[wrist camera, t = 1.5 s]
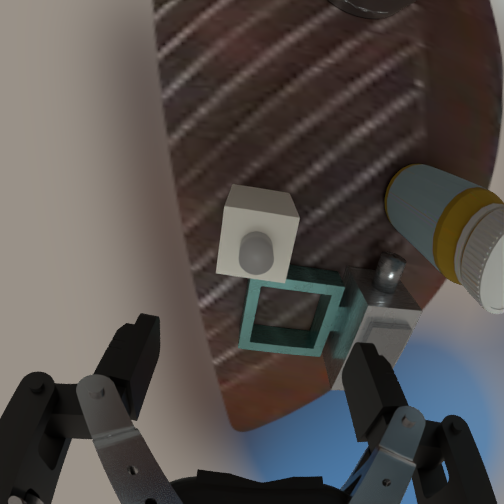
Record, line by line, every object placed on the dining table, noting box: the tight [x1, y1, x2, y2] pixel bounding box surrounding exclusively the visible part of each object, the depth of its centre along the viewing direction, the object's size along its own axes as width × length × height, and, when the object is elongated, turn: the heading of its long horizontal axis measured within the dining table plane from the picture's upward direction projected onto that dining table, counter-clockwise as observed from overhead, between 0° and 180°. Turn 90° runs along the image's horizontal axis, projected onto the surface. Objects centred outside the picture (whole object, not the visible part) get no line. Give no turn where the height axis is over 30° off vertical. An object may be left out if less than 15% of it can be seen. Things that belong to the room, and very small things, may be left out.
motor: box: [238, 252, 422, 390], centre depth 27 cm, size 13×15×8 cm
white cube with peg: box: [216, 184, 300, 283], centre depth 24 cm, size 5×5×9 cm
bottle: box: [385, 164, 504, 314], centre depth 20 cm, size 7×7×15 cm
